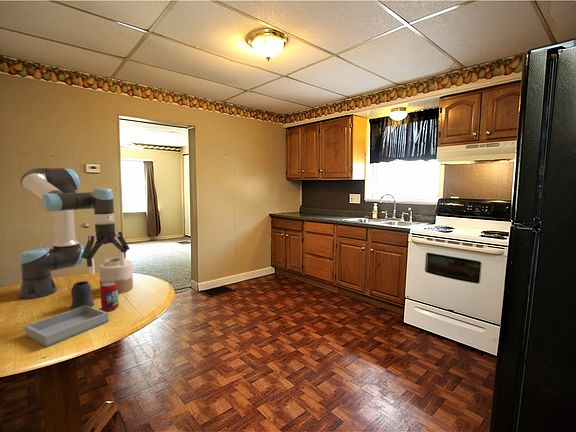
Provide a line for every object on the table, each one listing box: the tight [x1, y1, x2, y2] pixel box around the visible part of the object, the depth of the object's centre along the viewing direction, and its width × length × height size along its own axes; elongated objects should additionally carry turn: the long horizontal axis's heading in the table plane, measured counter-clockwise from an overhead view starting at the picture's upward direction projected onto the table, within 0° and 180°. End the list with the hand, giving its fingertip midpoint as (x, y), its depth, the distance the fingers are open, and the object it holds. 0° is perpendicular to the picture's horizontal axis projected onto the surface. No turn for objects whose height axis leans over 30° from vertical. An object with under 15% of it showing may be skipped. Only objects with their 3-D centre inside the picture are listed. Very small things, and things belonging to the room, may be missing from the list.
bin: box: [24, 305, 110, 348], centre depth 119 cm, size 16×22×4 cm
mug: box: [70, 280, 95, 310], centre depth 140 cm, size 12×9×11 cm
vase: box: [98, 256, 134, 295], centre depth 160 cm, size 15×15×17 cm
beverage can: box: [99, 282, 119, 312], centre depth 137 cm, size 7×7×12 cm
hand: (108, 269), depth 135 cm, fingers open, 13 cm apart
